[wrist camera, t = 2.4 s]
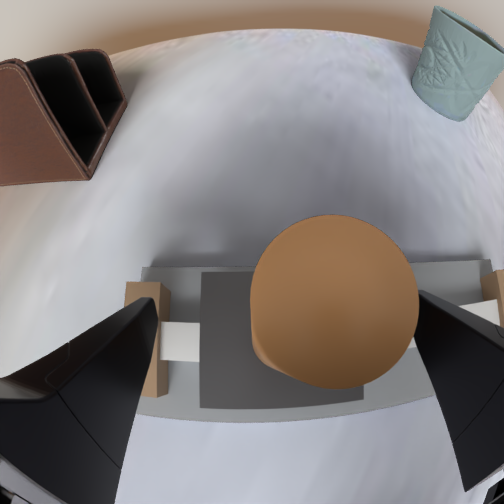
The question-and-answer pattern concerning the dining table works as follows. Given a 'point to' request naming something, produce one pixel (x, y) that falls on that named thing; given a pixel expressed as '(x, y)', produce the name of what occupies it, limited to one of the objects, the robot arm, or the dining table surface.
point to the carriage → (306, 318)
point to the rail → (375, 397)
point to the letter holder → (56, 116)
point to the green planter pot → (456, 65)
